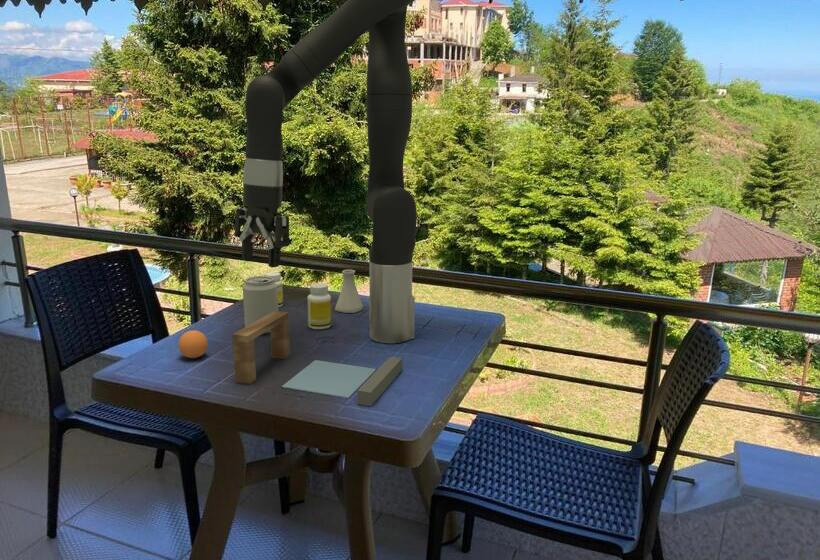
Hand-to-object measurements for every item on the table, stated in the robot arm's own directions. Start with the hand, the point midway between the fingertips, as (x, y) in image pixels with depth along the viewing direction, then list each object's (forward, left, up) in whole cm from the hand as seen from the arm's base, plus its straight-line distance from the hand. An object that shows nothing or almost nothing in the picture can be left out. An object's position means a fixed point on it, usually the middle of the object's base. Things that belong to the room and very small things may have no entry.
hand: (260, 263), depth 123 cm
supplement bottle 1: (-4, -29, -18) cm, 34 cm away
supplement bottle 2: (-13, -10, -18) cm, 24 cm away
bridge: (+1, +12, -18) cm, 22 cm away
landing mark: (-11, +20, -18) cm, 29 cm away
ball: (+14, +3, -15) cm, 21 cm away
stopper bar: (-19, +26, -18) cm, 37 cm away
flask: (-22, -21, -18) cm, 35 cm away
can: (0, -11, -18) cm, 21 cm away
